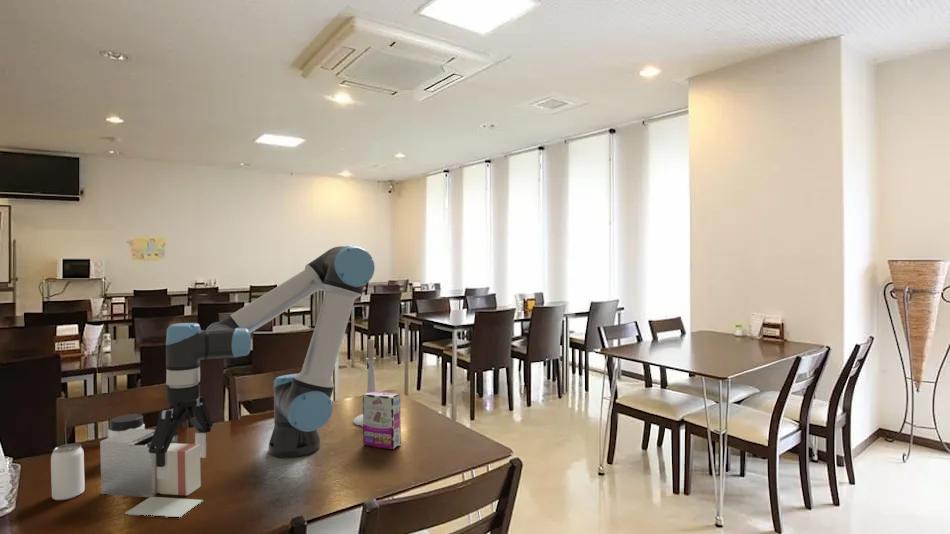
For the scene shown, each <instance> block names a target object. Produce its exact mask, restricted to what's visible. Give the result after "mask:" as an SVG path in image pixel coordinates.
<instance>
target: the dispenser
mask: <svg viewBox="0 0 950 534" xmlns="http://www.w3.org/2000/svg"><path fill="white" fill-rule="evenodd" d="M154 432H155V429H148V428H147V429H146V428H145V429H128V430H125V431H123V432H121V433H118V434H116V435H114V436H111V437H109V438H108V437H107V438H105V439H102V440H100V441H99V446H100V447H99V449H100V450H99V452H100V455H99V456H100V488H101V491H100V493H101V495H104V494H107V496H118V497H119V496H120V497H121V496H122V497H123V496H124V497H137V498H138V497H139V498H149V497H153V496H154V497H156V493H155V453H149V448H150V445H151V442H152V439H153V435H154ZM178 433H179V432H178V430H177V431H176V433H175V435H174V437H173V439H172V441H171V443H178V444H179V435H178ZM146 444H147V446H145V445H146Z"/></svg>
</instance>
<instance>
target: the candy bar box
mask: <svg viewBox="0 0 950 534" xmlns="http://www.w3.org/2000/svg"><path fill="white" fill-rule="evenodd" d="M362 414H363V427H362V428H363V429H362V430H363V431H362V433H363V434H362V435H363V437H362V439H363V443H362V445H363V446H364V445H367V446H366V447H369V446H373V447H372V448H376V447H379V448H378V449H383V448H387V449H386V450H389V449H394V448H396V447H397V446H399V445H400V444H402V443H401V442H402V440H401V439H402V438H401V437H402V436H401V435H402V434H401V393H393V392H386V391H384V392H383V391H382V392H381V391H376V390H375V391H370V392H368V393H367V392H366V393H365V392H364V393H363V394H362ZM400 446H401V445H400ZM400 446H399V447H400ZM397 448H398V447H397ZM397 448H396V449H397ZM394 450H395V449H394Z"/></svg>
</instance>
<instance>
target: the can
mask: <svg viewBox="0 0 950 534" xmlns="http://www.w3.org/2000/svg"><path fill="white" fill-rule="evenodd" d="M50 477H51V478H50V480H51V481H50V482H51V484H50V485H51V498H52V499H53V500H54V501H66V500H67V501H68V500H70V499H75V498H76V496H77V497H79V496H80V494H81V495H82V494H83V493H84V492H85V454H84V448H82V443H70V444H69V443H68V444H64V445H63V444H62V445H60V446H57V447H55V448H54V449H52V453H51V456H50ZM78 495H79V496H78Z"/></svg>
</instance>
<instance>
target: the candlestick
mask: <svg viewBox="0 0 950 534" xmlns="http://www.w3.org/2000/svg"><path fill="white" fill-rule="evenodd" d="M374 341H375V340H374V339H372V338H370V339H367V357H366V358H365V359H366V361H367V364H368V369H367V390H366V393H368V392H370V391H375V392H376V382H375V380H376V379H375V367H374V364H375V363H376V362H375V361H376V359H377V357H375V350H374V349H375V346H374V345H375V344H374V343H375V342H374ZM353 422H354V423H355V424H357V425H361V426H363V413H361V414H359V415H358V416H356V417H354V419H353V421H352V423H353Z"/></svg>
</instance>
